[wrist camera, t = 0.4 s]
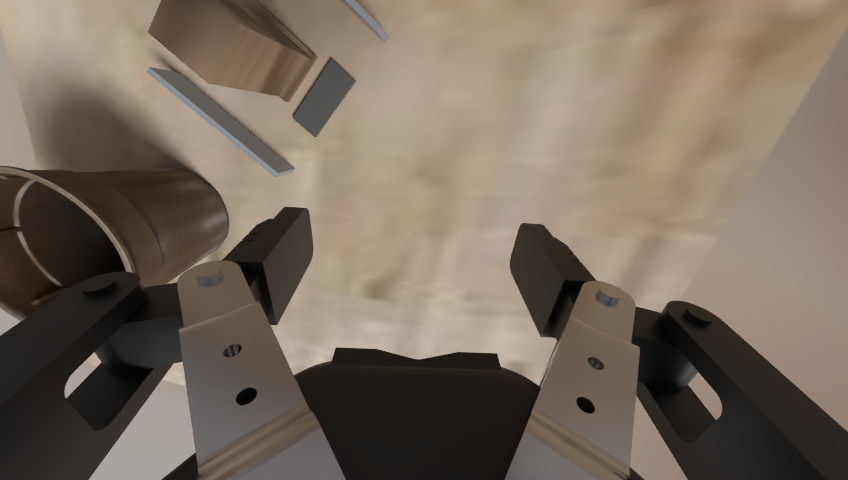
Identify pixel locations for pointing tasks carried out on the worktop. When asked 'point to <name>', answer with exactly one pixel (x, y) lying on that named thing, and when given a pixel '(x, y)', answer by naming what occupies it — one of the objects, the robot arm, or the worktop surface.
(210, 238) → the plant pot
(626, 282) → the worktop surface
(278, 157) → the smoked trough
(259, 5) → the walnut post stand
